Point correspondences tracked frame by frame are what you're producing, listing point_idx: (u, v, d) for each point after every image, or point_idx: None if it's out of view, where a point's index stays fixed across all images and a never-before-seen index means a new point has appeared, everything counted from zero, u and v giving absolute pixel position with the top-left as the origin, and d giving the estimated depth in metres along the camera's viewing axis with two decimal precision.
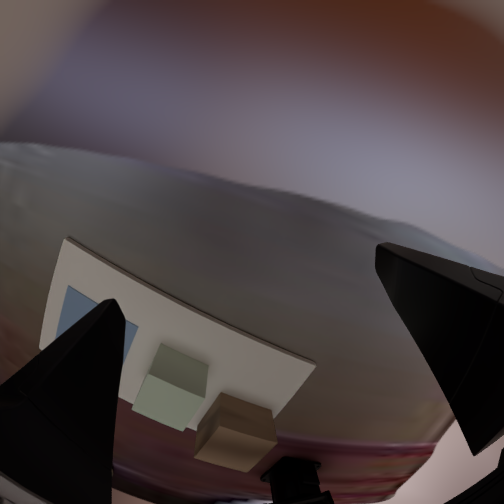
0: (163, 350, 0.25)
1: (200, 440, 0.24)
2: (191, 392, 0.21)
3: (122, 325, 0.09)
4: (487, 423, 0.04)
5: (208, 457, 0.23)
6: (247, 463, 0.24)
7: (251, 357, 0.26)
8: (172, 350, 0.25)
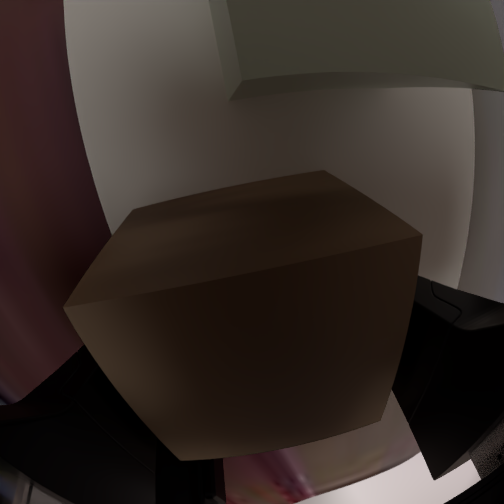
0: None
1: (154, 250, 0.05)
2: (497, 36, 0.03)
3: None
4: (445, 450, 0.04)
5: (132, 355, 0.05)
6: (230, 445, 0.06)
7: (447, 171, 0.09)
8: None
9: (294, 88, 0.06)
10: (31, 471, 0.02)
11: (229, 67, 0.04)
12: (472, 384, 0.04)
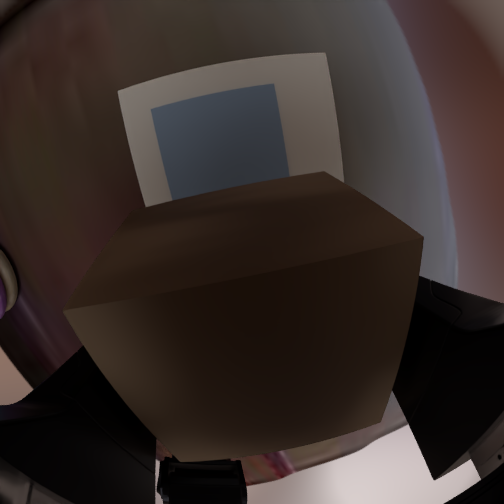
0: None
1: (154, 252, 0.05)
2: None
3: None
4: (445, 450, 0.04)
5: (132, 358, 0.05)
6: (230, 446, 0.06)
7: None
8: None
9: None
10: (31, 471, 0.02)
11: None
12: (471, 384, 0.04)
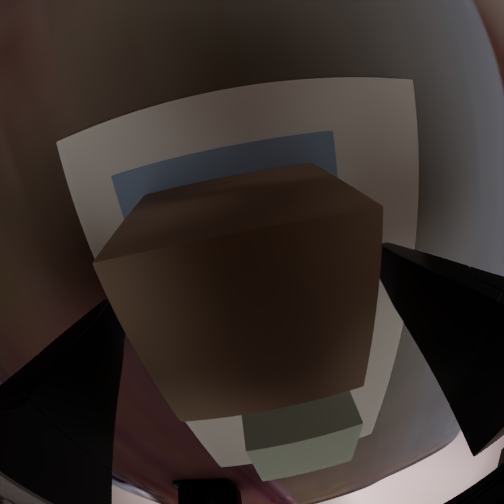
0: None
1: (167, 221, 0.07)
2: (353, 452, 0.12)
3: None
4: (488, 423, 0.04)
5: (147, 305, 0.06)
6: (226, 402, 0.08)
7: (362, 406, 0.18)
8: None
9: None
10: None
11: None
12: None
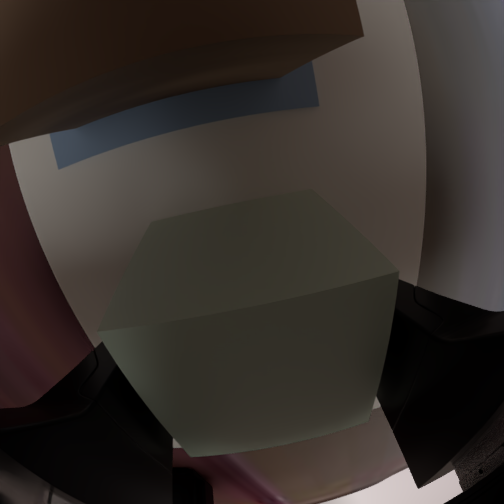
0: None
1: None
2: (373, 398, 0.06)
3: None
4: (427, 459, 0.04)
5: None
6: (12, 58, 0.02)
7: None
8: None
9: None
10: (53, 478, 0.02)
11: None
12: (452, 395, 0.04)
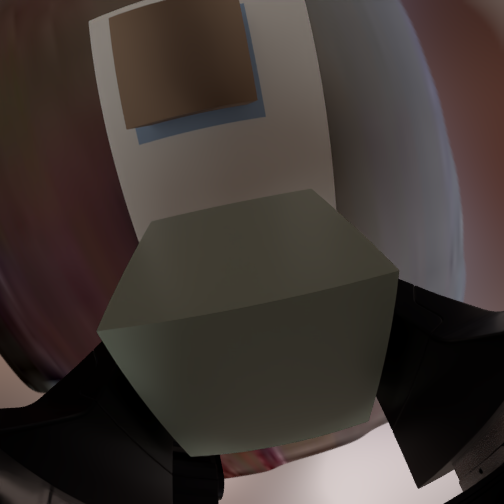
0: None
1: None
2: (373, 398, 0.06)
3: None
4: (427, 459, 0.04)
5: (127, 32, 0.09)
6: (158, 101, 0.11)
7: None
8: None
9: None
10: (53, 477, 0.02)
11: None
12: (451, 395, 0.04)
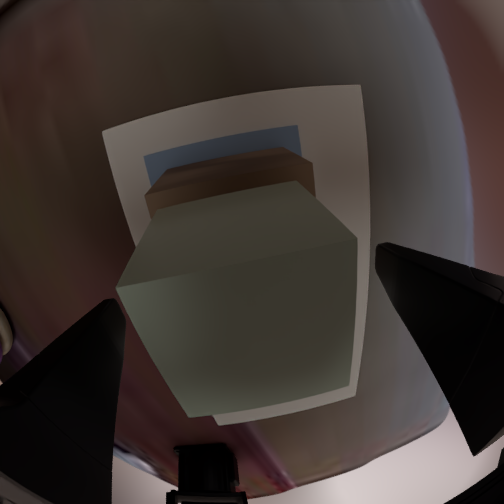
0: None
1: (187, 177, 0.11)
2: (351, 360, 0.07)
3: (122, 325, 0.09)
4: (487, 423, 0.04)
5: None
6: None
7: None
8: None
9: None
10: None
11: None
12: None
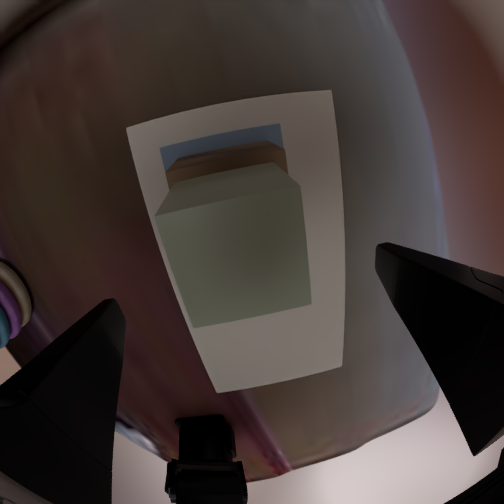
0: None
1: (195, 161, 0.15)
2: (309, 279, 0.11)
3: (122, 325, 0.09)
4: (487, 423, 0.04)
5: None
6: None
7: (327, 329, 0.26)
8: None
9: None
10: None
11: None
12: None
